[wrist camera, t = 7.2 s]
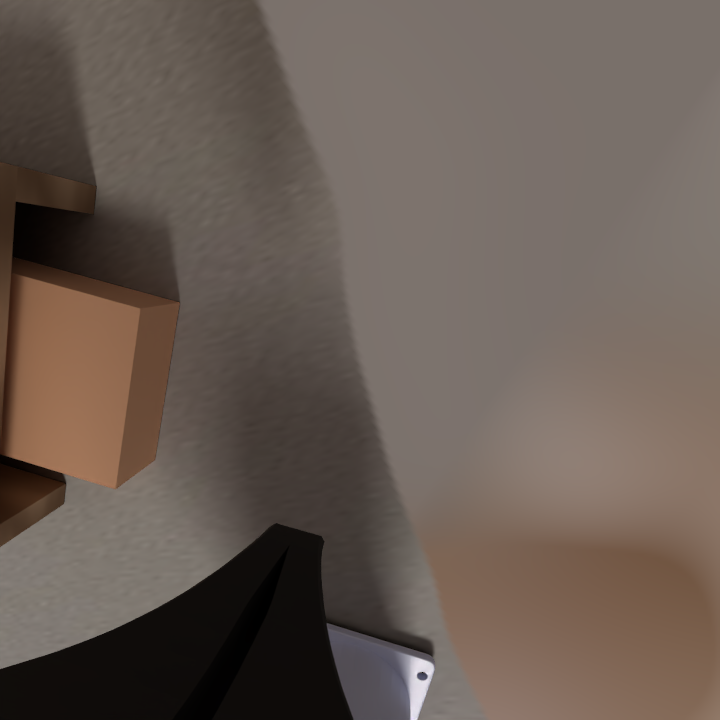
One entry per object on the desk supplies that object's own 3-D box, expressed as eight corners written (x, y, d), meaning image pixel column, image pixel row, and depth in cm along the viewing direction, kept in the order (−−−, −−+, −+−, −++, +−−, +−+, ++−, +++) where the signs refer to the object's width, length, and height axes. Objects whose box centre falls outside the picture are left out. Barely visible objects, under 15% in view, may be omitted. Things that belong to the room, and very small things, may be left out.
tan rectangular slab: (155, 459, 22) (115, 489, 19) (-65, 394, 23) (-135, 413, 20) (180, 302, 20) (140, 308, 17) (-60, 236, 21) (-136, 231, 18)
